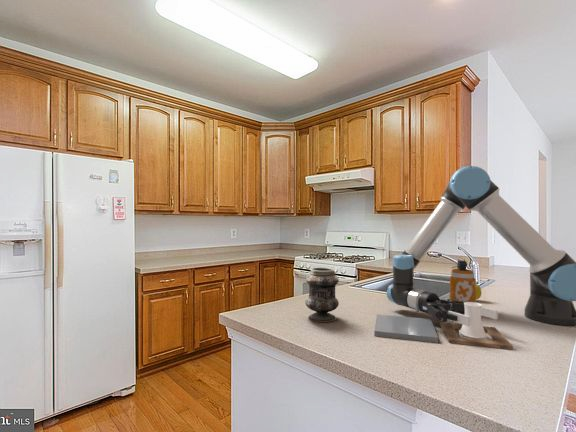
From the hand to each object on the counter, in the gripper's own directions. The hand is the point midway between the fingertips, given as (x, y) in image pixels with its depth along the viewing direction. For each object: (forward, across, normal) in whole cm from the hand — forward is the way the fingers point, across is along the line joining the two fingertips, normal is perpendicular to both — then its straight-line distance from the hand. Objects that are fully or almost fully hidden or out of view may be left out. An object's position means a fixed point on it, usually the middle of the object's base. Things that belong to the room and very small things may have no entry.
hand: (483, 318), depth 95 cm
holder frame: (-3, 0, -6) cm, 7 cm away
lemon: (-30, -42, -7) cm, 52 cm away
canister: (-23, -24, -7) cm, 34 cm away
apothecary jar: (-39, +32, -7) cm, 51 cm away
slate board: (-17, +14, -6) cm, 23 cm away
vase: (-3, 0, -7) cm, 7 cm away
